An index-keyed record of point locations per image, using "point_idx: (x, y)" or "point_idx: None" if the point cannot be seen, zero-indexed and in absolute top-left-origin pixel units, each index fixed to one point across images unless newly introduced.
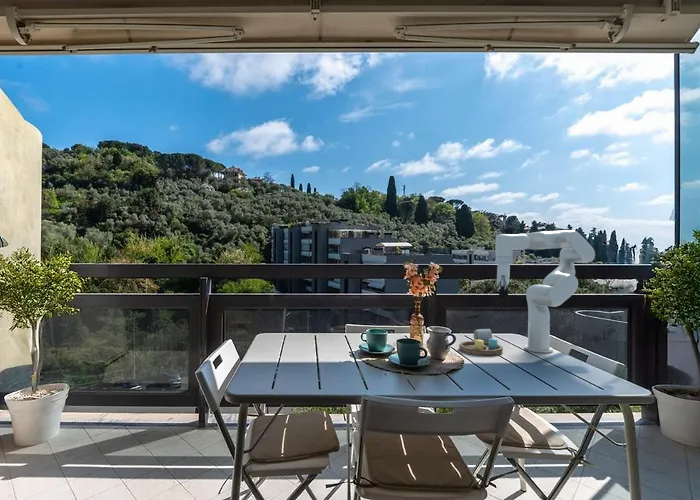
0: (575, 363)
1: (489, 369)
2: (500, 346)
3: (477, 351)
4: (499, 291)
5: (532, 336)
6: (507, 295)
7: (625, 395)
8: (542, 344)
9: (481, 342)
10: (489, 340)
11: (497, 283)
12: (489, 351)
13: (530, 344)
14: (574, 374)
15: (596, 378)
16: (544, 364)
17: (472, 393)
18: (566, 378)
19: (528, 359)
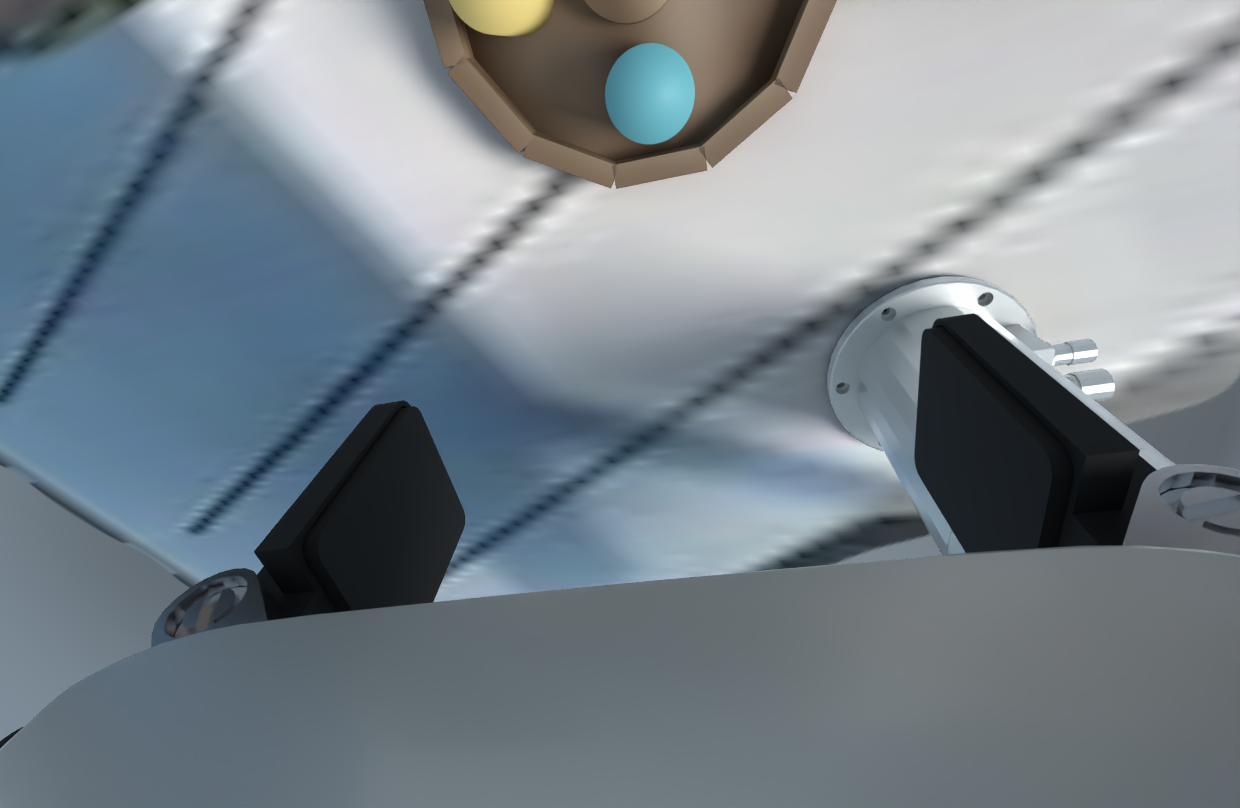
0: (674, 554)
1: (179, 230)
2: (705, 149)
3: (429, 6)
4: (299, 515)
5: (900, 394)
6: (920, 473)
7: None
8: (871, 428)
9: (468, 22)
10: (613, 66)
11: (54, 719)
12: (487, 114)
13: (889, 346)
14: (463, 563)
15: None
16: (544, 450)
17: None
18: None
19: (598, 364)
